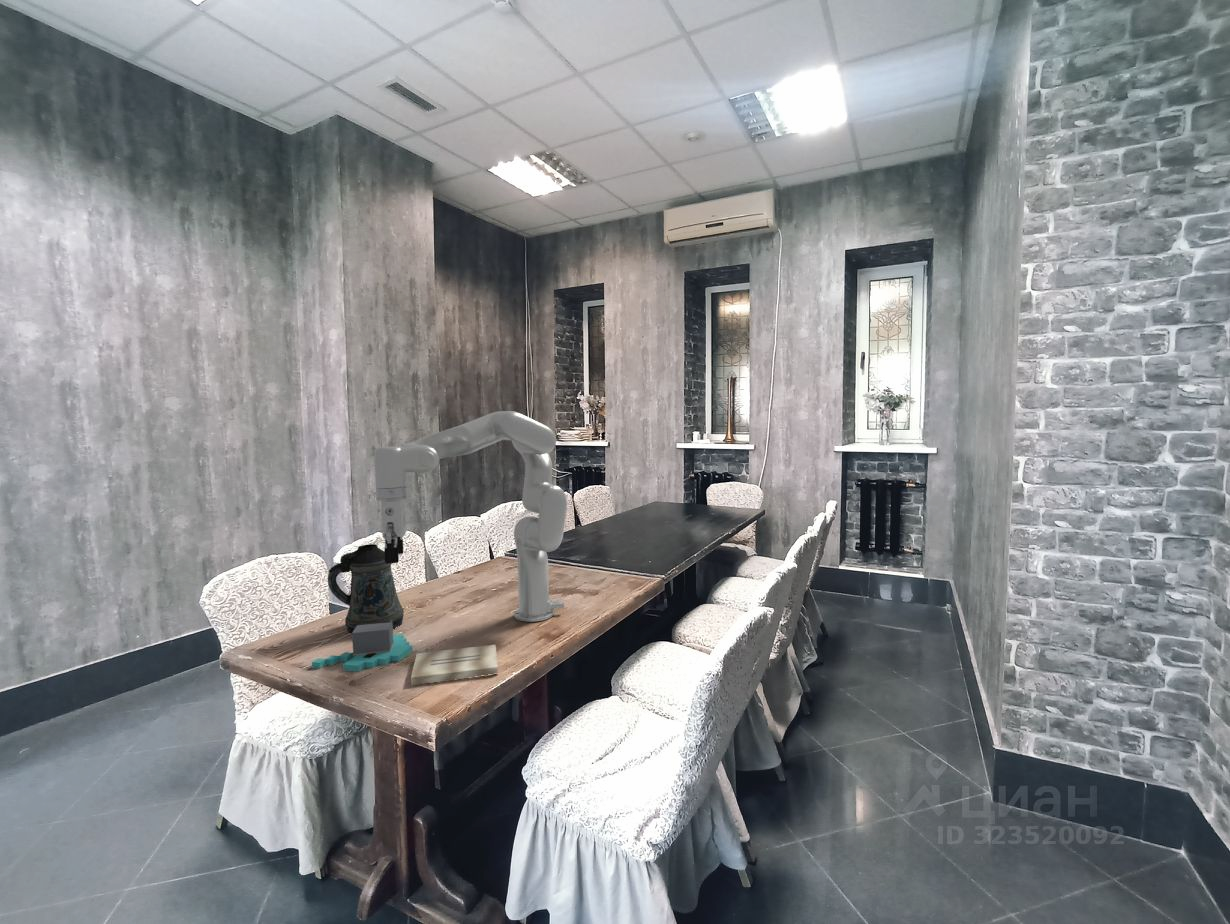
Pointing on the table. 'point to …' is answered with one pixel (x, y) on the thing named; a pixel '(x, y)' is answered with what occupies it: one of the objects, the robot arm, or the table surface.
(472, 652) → the pine board
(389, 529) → the robot arm
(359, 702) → the table surface
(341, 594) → the beer stein
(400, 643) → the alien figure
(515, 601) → the table surface
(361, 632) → the block
